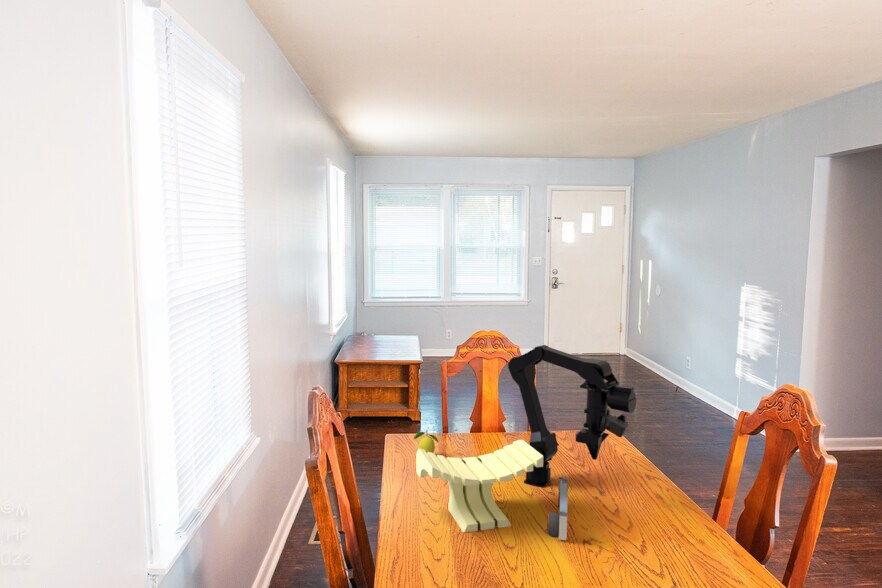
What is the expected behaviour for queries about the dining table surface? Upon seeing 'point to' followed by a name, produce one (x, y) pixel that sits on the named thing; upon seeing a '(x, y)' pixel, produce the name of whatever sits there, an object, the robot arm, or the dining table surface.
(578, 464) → the dining table surface
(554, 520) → the gate stop
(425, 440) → the lemon
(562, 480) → the gate post
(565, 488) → the gate
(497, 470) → the slatted curved stool
